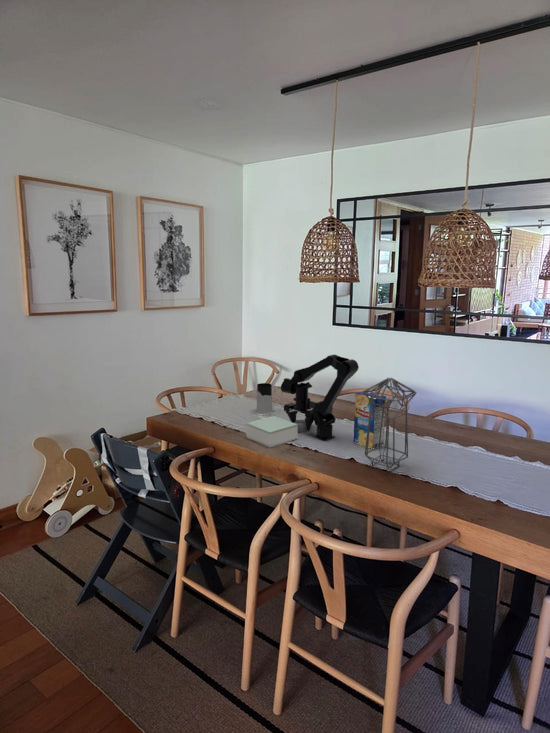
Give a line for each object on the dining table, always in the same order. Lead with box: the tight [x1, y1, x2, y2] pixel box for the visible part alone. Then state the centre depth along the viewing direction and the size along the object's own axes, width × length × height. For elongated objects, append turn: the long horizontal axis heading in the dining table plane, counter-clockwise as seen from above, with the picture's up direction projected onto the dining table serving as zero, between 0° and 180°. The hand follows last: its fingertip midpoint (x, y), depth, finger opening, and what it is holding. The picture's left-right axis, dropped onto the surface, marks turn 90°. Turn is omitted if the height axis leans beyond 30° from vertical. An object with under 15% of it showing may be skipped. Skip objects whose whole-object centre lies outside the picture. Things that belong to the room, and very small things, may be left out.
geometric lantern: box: [361, 377, 417, 471], centre depth 180 cm, size 16×16×35 cm
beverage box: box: [352, 391, 387, 449], centre depth 204 cm, size 7×11×22 cm, turn 38°
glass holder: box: [255, 382, 284, 416], centre depth 249 cm, size 9×14×15 cm, turn 105°
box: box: [245, 424, 299, 449], centre depth 212 cm, size 16×16×6 cm
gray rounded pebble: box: [295, 419, 308, 434], centre depth 222 cm, size 6×6×4 cm
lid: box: [245, 415, 298, 434], centre depth 211 cm, size 16×16×1 cm
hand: (301, 428), depth 223 cm, fingers open, 9 cm apart
